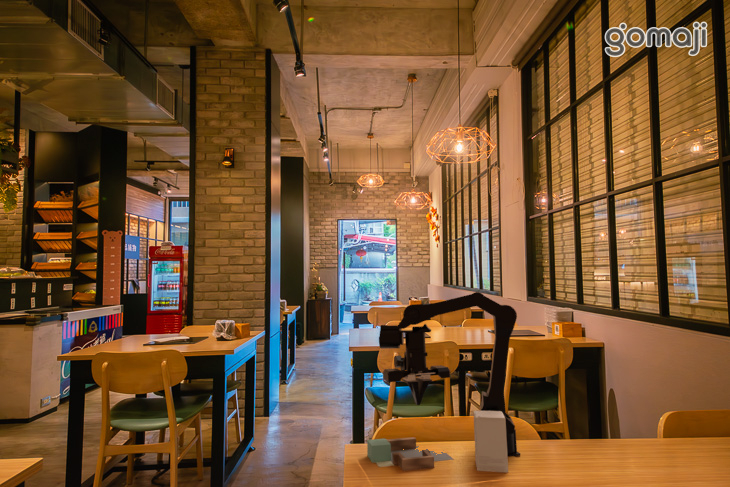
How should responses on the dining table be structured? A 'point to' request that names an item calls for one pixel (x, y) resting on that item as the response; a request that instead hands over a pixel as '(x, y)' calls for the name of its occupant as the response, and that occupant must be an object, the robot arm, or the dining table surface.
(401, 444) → the tunnel
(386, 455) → the block
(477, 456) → the supplement box
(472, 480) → the dining table surface
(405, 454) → the grey board
